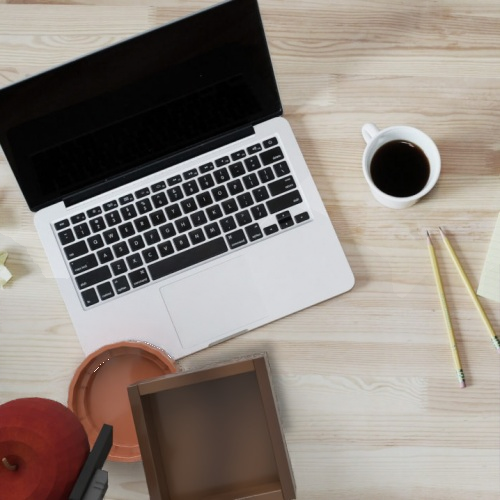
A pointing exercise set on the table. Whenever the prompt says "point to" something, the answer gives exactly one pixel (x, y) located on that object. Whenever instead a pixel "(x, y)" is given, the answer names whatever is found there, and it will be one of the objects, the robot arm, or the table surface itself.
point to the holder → (213, 433)
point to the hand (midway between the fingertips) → (47, 416)
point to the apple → (40, 450)
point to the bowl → (115, 391)
